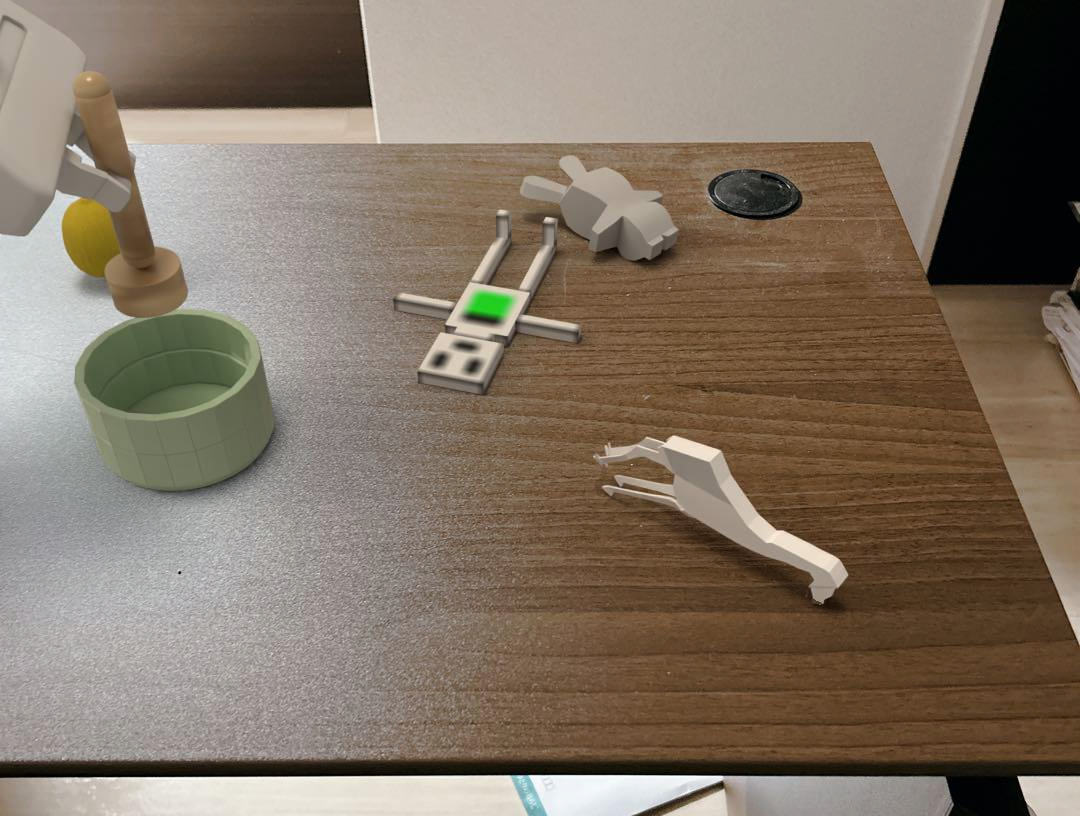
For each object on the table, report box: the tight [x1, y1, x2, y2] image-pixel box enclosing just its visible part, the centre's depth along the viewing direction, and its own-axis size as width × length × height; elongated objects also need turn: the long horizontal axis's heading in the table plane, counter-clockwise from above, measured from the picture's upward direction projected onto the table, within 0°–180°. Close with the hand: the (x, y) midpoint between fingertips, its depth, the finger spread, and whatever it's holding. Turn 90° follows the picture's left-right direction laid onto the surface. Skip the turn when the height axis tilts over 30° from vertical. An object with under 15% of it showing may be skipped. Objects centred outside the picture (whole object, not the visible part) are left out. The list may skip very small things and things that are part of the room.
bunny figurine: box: [518, 154, 680, 261], centre depth 105 cm, size 10×5×15 cm
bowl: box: [73, 308, 275, 492], centre depth 84 cm, size 13×13×7 cm
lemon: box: [61, 197, 121, 280], centre depth 98 cm, size 6×6×8 cm
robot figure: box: [392, 209, 583, 396], centre depth 97 cm, size 16×3×22 cm
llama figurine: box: [592, 435, 849, 605], centre depth 77 cm, size 2×11×18 cm
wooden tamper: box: [73, 70, 189, 318], centre depth 72 cm, size 5×5×16 cm
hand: (128, 186), depth 72 cm, fingers closed on wooden tamper, 2 cm apart
